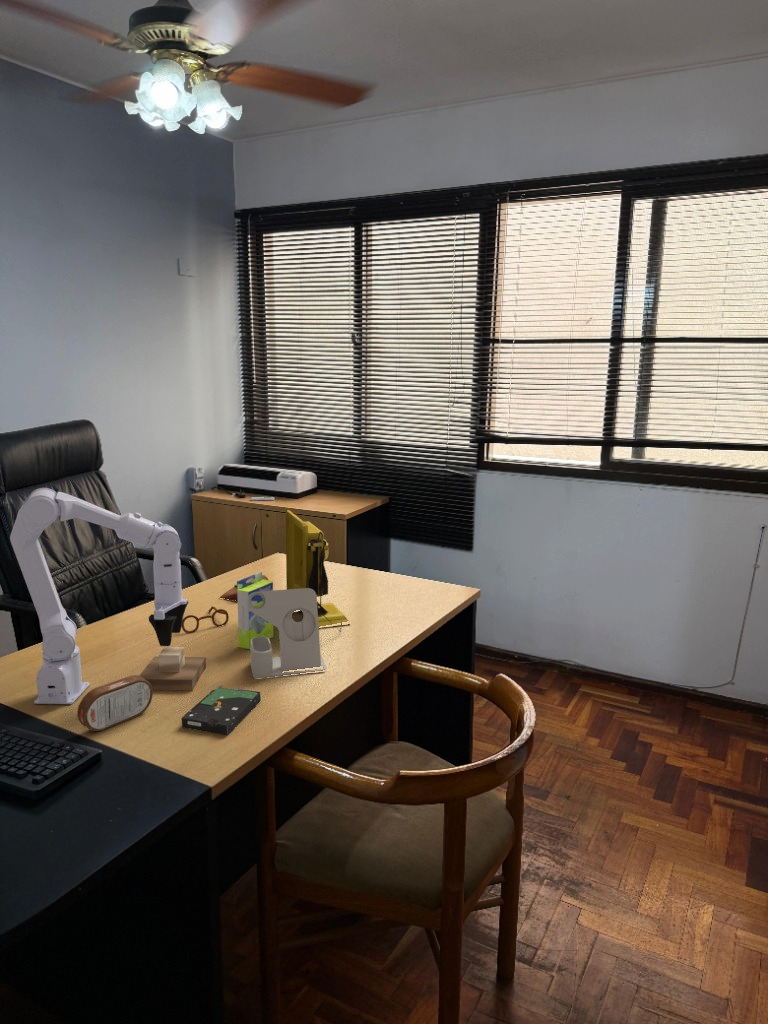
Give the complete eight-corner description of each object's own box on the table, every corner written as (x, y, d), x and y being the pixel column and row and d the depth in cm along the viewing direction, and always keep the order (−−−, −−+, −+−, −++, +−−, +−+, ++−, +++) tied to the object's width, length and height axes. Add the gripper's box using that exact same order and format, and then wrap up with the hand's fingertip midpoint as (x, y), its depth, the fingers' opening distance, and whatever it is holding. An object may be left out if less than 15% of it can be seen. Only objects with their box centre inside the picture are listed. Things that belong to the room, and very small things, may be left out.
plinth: (192, 690, 154) (192, 679, 153) (137, 689, 154) (136, 678, 153) (206, 667, 165) (205, 657, 165) (154, 666, 165) (154, 656, 165)
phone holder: (252, 679, 159) (250, 604, 156) (248, 661, 169) (246, 590, 165) (327, 672, 164) (327, 598, 160) (319, 655, 173) (319, 585, 170)
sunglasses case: (245, 582, 229) (254, 566, 227) (262, 594, 228) (271, 578, 226) (216, 599, 212) (226, 582, 210) (235, 613, 211) (244, 596, 209)
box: (249, 650, 176) (248, 584, 172) (236, 647, 177) (234, 581, 174) (275, 636, 185) (274, 573, 181) (262, 633, 187) (261, 570, 183)
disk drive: (229, 738, 136) (261, 702, 150) (228, 725, 135) (261, 690, 149) (181, 730, 138) (217, 696, 152) (180, 717, 138) (216, 684, 152)
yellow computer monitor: (362, 637, 185) (364, 526, 179) (311, 644, 180) (311, 530, 174) (327, 600, 214) (327, 503, 207) (282, 605, 208) (281, 506, 202)
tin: (147, 706, 147) (145, 668, 145) (156, 710, 145) (154, 672, 143) (77, 734, 135) (74, 693, 133) (86, 739, 133) (83, 698, 131)
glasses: (183, 636, 185) (182, 618, 184) (165, 621, 195) (164, 604, 194) (229, 626, 193) (229, 608, 192) (210, 612, 203) (209, 595, 202)
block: (179, 672, 157) (179, 655, 156) (159, 672, 157) (158, 655, 156) (184, 663, 161) (184, 647, 160) (165, 663, 161) (164, 647, 160)
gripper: (176, 591, 148) (179, 652, 150) (194, 571, 162) (196, 627, 165) (142, 590, 148) (146, 651, 150) (163, 571, 162) (166, 626, 165)
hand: (170, 638), depth 158 cm, fingers open, 7 cm apart
